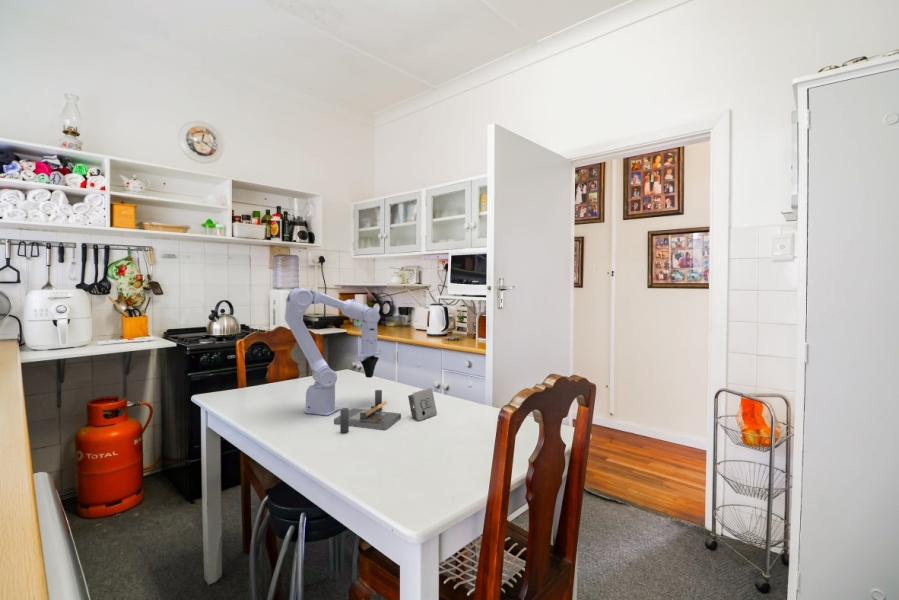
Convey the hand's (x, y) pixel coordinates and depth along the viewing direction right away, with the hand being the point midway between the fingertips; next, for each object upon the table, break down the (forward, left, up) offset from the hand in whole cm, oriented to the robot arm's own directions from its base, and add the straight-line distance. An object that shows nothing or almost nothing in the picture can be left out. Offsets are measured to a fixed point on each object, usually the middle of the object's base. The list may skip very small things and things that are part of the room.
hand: (369, 377), depth 159 cm
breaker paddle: (+8, -16, -8) cm, 20 cm away
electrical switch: (+23, -6, -11) cm, 26 cm away
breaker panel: (+8, -16, -10) cm, 21 cm away
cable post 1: (+6, -28, -10) cm, 30 cm away
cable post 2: (+6, -5, -10) cm, 13 cm away
